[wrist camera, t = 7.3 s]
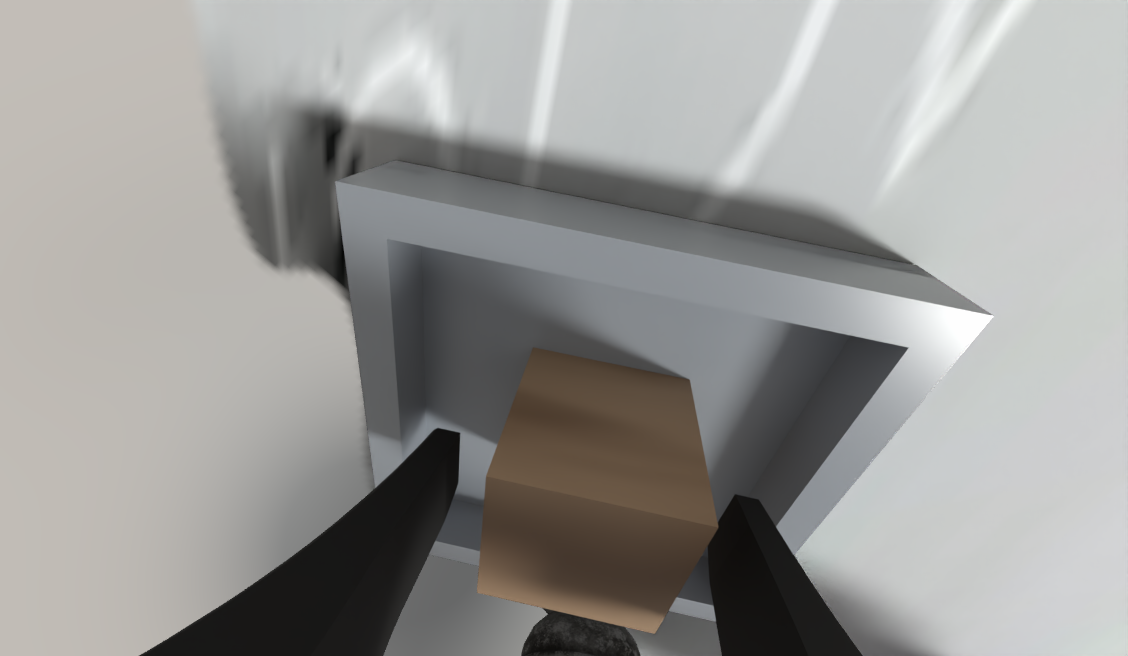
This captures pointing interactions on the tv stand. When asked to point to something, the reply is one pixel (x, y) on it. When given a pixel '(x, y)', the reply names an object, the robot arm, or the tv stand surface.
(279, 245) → the tv stand surface
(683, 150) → the tv stand surface
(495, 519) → the block
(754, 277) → the tray
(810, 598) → the robot arm
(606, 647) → the dark grey turned piece
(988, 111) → the tv stand surface
